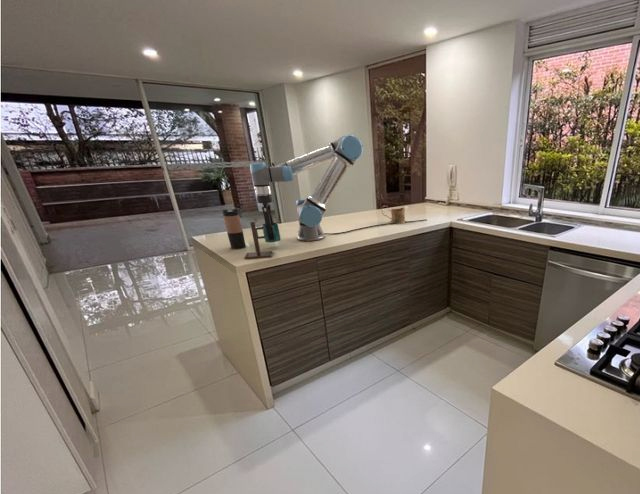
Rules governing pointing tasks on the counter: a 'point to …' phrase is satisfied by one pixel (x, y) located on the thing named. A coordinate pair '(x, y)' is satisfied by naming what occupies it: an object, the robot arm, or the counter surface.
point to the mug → (397, 215)
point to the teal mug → (275, 232)
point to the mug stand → (257, 245)
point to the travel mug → (234, 228)
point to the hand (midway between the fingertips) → (272, 237)
